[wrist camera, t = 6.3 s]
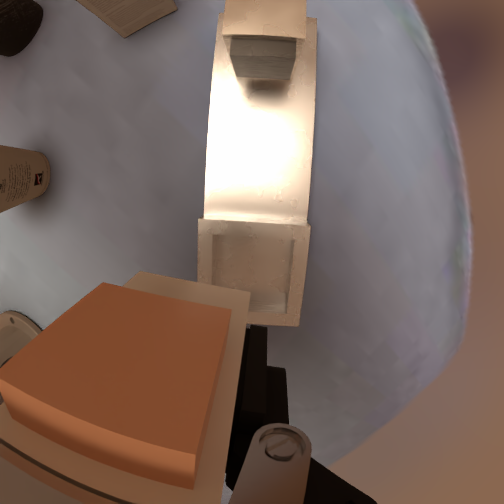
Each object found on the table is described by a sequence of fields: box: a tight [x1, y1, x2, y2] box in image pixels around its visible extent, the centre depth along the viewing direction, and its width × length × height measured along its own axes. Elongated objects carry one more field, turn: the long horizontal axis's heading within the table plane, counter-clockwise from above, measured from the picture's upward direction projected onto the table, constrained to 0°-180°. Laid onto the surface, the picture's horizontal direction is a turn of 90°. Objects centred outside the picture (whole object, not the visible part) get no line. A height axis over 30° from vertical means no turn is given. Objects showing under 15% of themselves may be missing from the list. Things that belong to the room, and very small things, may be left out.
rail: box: [198, 0, 317, 326], centre depth 18 cm, size 24×8×10 cm, turn 177°
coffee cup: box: [0, 145, 50, 213], centre depth 19 cm, size 7×7×10 cm
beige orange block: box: [0, 271, 251, 504], centre depth 7 cm, size 5×4×8 cm
